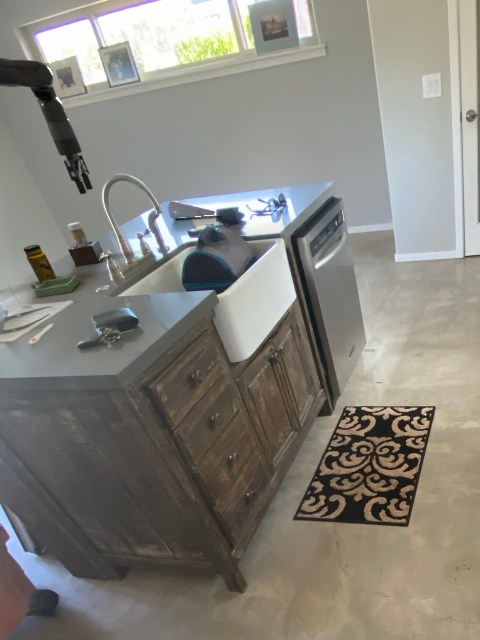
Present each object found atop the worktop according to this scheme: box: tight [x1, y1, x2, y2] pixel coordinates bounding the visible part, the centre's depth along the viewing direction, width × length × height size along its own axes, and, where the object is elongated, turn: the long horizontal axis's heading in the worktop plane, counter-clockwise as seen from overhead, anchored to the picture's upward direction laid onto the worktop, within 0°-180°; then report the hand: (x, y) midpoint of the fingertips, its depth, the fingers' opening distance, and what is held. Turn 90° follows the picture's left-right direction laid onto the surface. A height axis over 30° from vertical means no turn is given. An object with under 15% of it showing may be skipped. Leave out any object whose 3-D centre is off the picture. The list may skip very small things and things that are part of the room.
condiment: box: [23, 244, 59, 289], centre depth 183 cm, size 7×8×12 cm
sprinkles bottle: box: [67, 221, 90, 247], centre depth 200 cm, size 5×5×14 cm
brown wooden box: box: [67, 239, 104, 267], centre depth 202 cm, size 9×9×6 cm
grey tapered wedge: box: [167, 199, 216, 220], centre depth 242 cm, size 8×9×26 cm
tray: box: [33, 275, 80, 298], centre depth 178 cm, size 11×10×2 cm
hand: (86, 191), depth 189 cm, fingers open, 8 cm apart
